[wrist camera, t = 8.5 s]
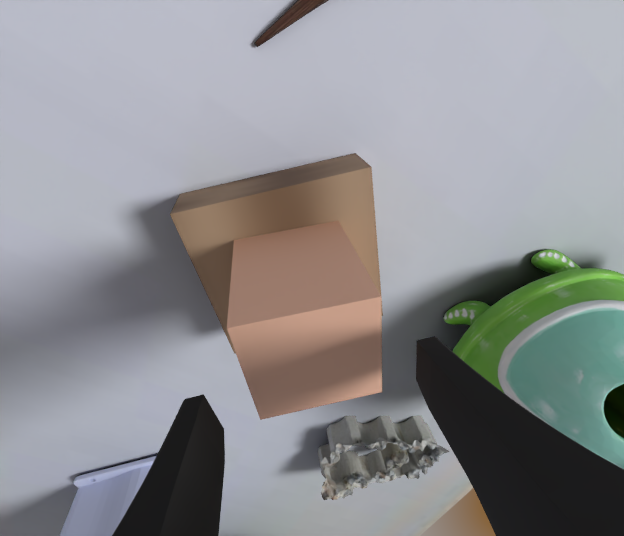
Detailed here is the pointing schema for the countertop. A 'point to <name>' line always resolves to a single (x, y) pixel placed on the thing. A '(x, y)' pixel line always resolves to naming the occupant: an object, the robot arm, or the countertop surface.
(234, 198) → the walnut block
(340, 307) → the terracotta block
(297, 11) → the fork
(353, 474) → the egg carton
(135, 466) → the robot arm
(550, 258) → the turtle holder
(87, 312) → the countertop surface
